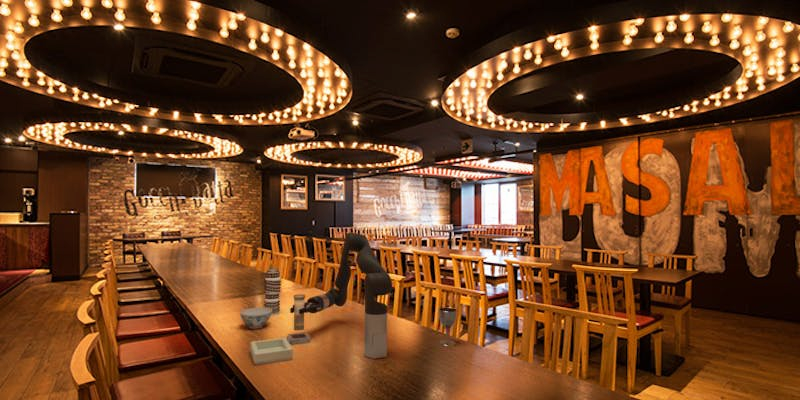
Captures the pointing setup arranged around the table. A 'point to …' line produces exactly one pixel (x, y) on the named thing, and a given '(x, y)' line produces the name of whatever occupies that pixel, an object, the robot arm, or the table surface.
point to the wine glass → (447, 322)
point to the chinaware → (255, 317)
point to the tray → (271, 351)
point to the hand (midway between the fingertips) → (295, 311)
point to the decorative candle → (272, 290)
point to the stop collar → (298, 338)
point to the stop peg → (298, 317)
